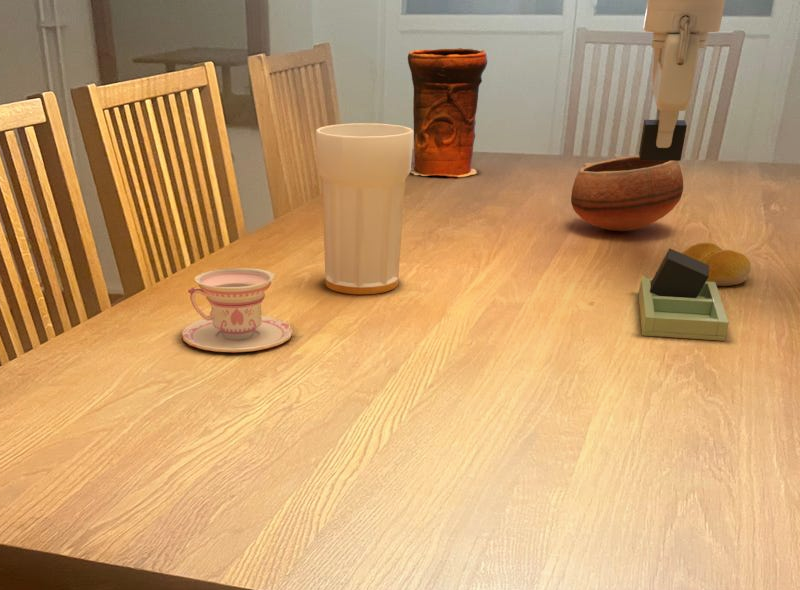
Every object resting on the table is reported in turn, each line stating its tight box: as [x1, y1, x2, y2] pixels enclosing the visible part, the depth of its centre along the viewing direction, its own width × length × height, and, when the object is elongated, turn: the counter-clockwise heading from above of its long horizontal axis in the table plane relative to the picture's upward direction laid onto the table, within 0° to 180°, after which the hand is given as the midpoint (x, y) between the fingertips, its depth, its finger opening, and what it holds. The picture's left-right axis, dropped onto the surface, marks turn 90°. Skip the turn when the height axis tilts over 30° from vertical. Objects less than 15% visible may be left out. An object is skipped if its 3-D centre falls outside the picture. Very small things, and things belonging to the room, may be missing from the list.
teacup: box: [181, 267, 294, 353], centre depth 103 cm, size 12×12×6 cm
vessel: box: [407, 47, 488, 178], centre depth 179 cm, size 14×14×20 cm
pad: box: [650, 247, 709, 298], centre depth 111 cm, size 5×5×4 cm
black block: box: [638, 119, 688, 162], centre depth 123 cm, size 5×5×4 cm
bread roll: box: [681, 242, 751, 287], centre depth 121 cm, size 8×9×4 cm
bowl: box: [570, 154, 684, 232], centre depth 142 cm, size 16×16×10 cm
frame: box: [637, 277, 730, 342], centre depth 109 cm, size 8×16×2 cm, turn 166°
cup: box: [315, 122, 414, 296], centre depth 116 cm, size 11×11×17 cm
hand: (661, 143), depth 123 cm, fingers closed on black block, 5 cm apart
